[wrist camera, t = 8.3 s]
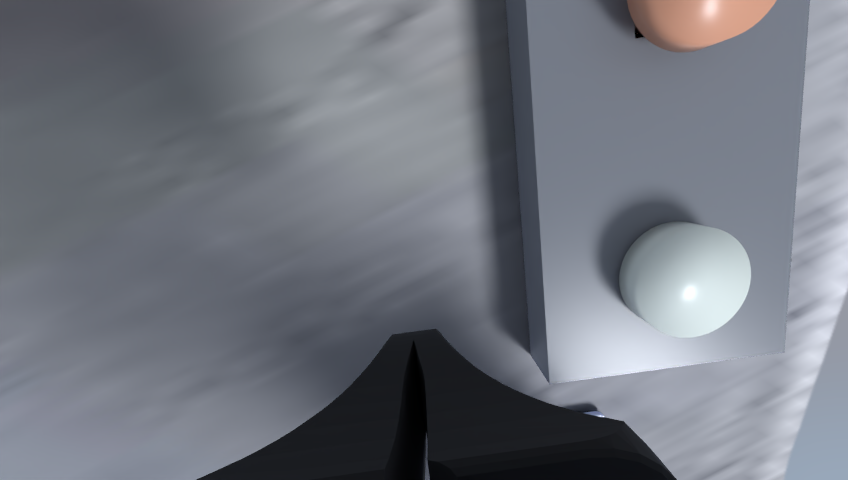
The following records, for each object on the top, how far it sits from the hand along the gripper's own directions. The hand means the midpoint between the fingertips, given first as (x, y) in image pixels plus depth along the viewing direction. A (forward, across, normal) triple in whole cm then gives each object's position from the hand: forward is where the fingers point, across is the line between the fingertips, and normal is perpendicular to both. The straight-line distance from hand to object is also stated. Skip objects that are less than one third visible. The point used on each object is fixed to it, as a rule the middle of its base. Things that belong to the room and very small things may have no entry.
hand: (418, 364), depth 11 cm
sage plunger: (+10, -12, +1) cm, 16 cm away
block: (+10, -12, -5) cm, 17 cm away
